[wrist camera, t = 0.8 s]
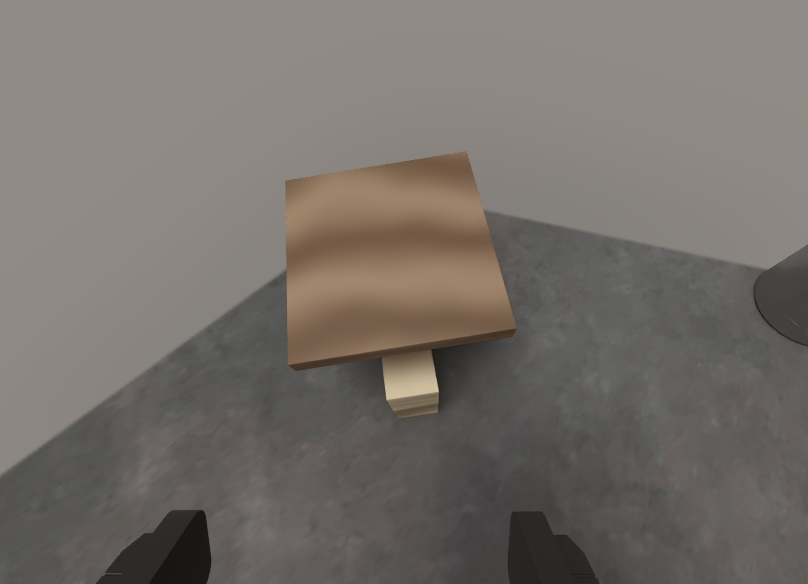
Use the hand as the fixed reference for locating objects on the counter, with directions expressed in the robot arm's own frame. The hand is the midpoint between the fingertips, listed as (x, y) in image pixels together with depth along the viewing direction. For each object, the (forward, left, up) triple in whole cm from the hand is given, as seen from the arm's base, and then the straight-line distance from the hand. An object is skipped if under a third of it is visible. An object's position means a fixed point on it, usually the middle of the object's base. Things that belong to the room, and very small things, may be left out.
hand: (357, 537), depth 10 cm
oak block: (-7, -5, -29) cm, 30 cm away
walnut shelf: (-12, -10, -29) cm, 33 cm away
